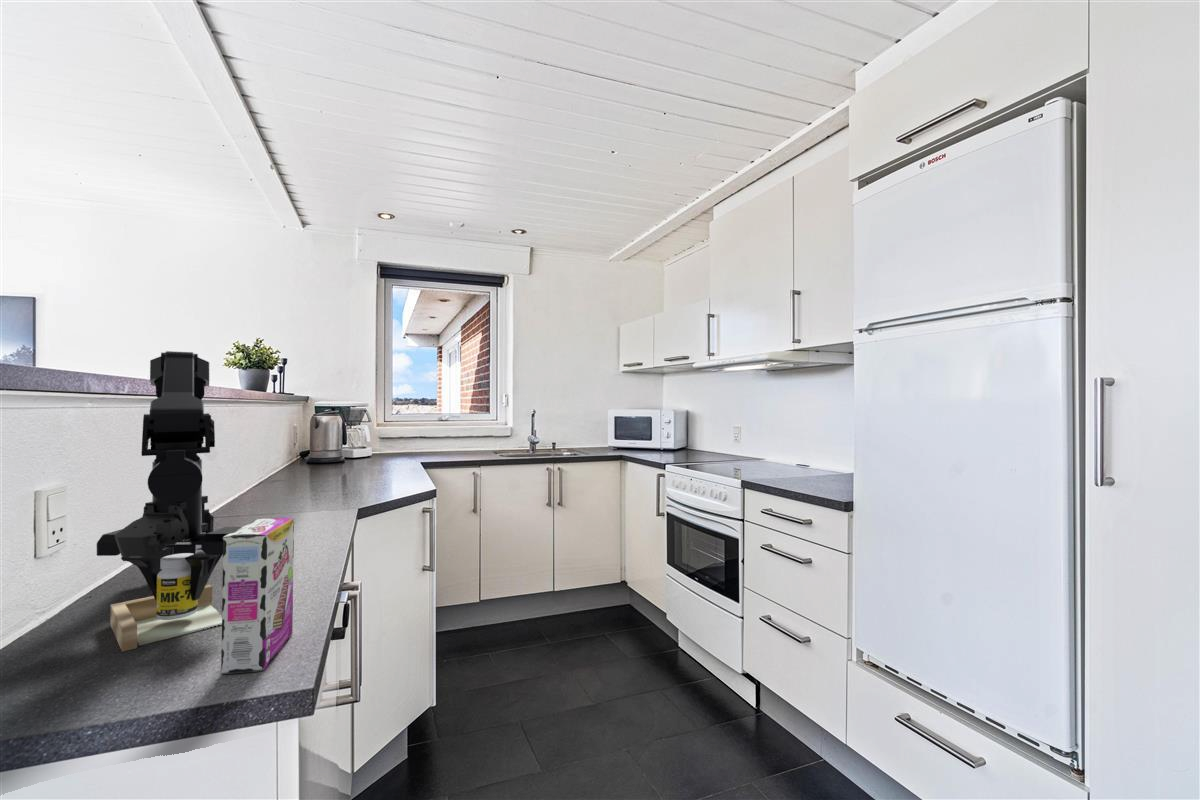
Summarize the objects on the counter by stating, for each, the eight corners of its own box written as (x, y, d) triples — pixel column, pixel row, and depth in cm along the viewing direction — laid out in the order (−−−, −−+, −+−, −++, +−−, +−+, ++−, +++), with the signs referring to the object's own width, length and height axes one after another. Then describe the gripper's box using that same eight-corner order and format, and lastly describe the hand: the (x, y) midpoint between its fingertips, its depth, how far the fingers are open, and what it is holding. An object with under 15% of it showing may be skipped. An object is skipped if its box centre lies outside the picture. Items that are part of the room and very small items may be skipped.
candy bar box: (266, 671, 66) (266, 534, 66) (219, 676, 65) (219, 536, 65) (295, 633, 77) (295, 515, 77) (255, 637, 76) (255, 517, 76)
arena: (110, 625, 80) (110, 604, 80) (209, 603, 89) (209, 584, 89) (122, 651, 72) (122, 628, 72) (230, 624, 80) (230, 603, 80)
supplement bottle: (154, 623, 77) (154, 563, 77) (158, 612, 81) (158, 555, 81) (197, 616, 80) (197, 557, 80) (198, 606, 84) (198, 550, 84)
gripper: (59, 503, 72) (59, 623, 72) (205, 502, 73) (205, 621, 73) (129, 489, 84) (129, 593, 83) (255, 488, 84) (255, 592, 84)
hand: (177, 599), depth 81 cm, fingers closed on supplement bottle, 5 cm apart
